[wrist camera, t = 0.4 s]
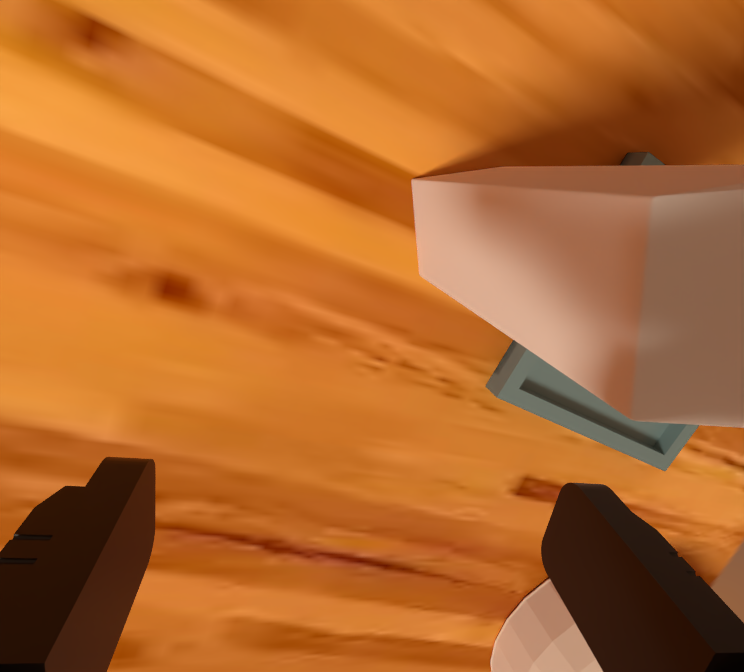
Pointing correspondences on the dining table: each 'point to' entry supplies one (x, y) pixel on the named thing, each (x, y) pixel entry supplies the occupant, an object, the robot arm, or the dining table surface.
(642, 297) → the milk
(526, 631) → the dome with blue handle
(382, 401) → the dining table surface
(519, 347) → the tray
